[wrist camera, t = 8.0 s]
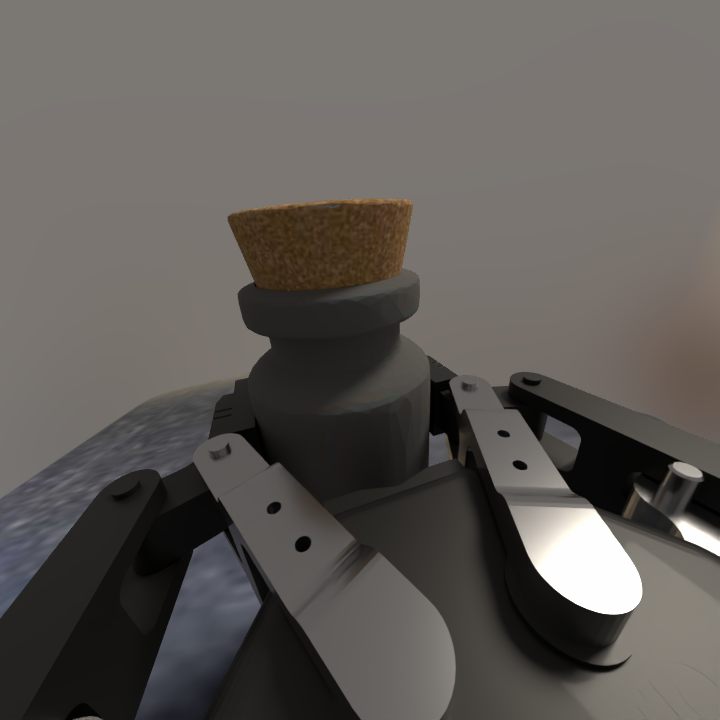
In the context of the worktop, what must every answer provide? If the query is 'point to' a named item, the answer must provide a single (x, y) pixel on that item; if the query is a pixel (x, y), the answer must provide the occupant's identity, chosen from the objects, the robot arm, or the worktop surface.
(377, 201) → the bottle
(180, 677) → the worktop surface
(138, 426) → the worktop surface
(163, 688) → the worktop surface
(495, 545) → the robot arm
